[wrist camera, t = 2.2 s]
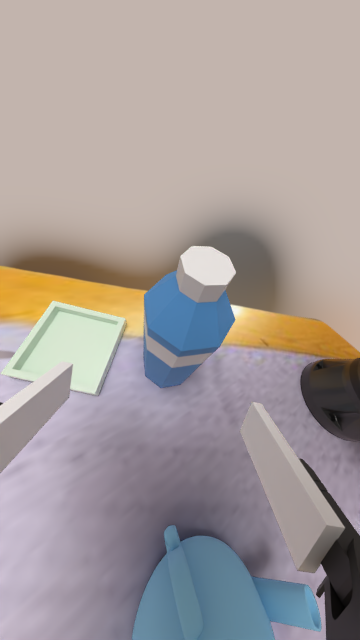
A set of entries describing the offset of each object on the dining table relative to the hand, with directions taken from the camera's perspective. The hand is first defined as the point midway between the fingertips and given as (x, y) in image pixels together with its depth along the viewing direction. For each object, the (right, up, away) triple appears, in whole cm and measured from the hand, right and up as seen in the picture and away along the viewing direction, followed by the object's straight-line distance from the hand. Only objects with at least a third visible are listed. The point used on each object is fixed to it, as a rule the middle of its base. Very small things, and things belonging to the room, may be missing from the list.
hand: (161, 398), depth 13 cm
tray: (-18, +1, +19) cm, 26 cm away
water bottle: (-1, -3, +21) cm, 21 cm away
